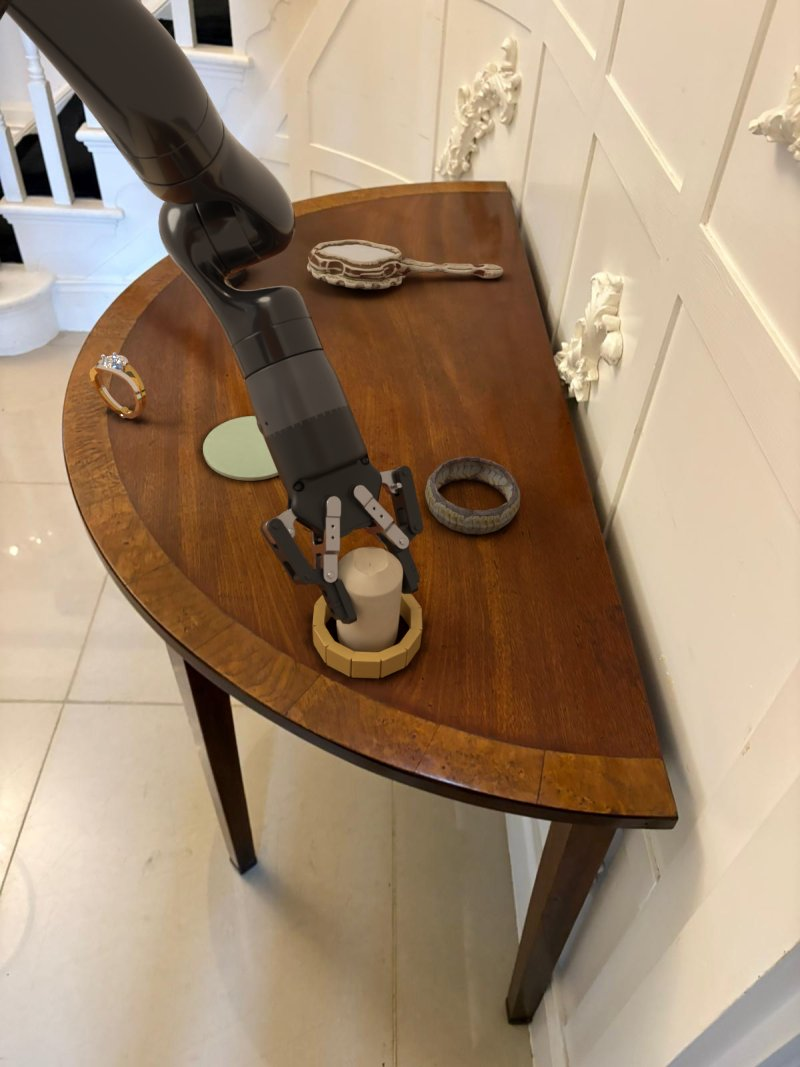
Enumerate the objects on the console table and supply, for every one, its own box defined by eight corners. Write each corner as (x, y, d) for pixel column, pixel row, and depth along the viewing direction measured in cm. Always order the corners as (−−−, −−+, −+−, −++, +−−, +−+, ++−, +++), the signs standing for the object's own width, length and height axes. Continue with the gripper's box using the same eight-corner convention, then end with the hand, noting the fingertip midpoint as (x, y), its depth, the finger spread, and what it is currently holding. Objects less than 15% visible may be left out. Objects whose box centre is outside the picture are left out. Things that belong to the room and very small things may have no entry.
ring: (156, 420, 91) (144, 361, 86) (135, 434, 89) (122, 374, 84) (114, 398, 94) (100, 340, 88) (93, 411, 92) (77, 352, 86)
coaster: (224, 492, 83) (224, 489, 83) (189, 434, 90) (188, 431, 90) (318, 463, 88) (318, 459, 87) (278, 409, 94) (278, 406, 94)
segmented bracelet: (344, 694, 67) (344, 677, 65) (296, 616, 72) (295, 598, 70) (439, 652, 70) (442, 635, 68) (387, 580, 76) (388, 562, 74)
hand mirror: (516, 280, 115) (313, 269, 108) (504, 311, 120) (309, 303, 113) (500, 233, 121) (306, 221, 114) (489, 265, 126) (302, 255, 119)
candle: (324, 633, 71) (322, 558, 64) (366, 600, 74) (369, 525, 67) (367, 669, 68) (370, 595, 61) (409, 634, 71) (417, 559, 64)
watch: (225, 265, 119) (223, 242, 116) (254, 270, 118) (252, 247, 116) (203, 288, 114) (199, 264, 111) (233, 294, 113) (230, 270, 110)
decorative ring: (534, 527, 82) (493, 467, 89) (539, 504, 80) (498, 445, 86) (445, 548, 79) (410, 485, 86) (448, 525, 77) (412, 462, 84)
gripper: (237, 438, 58) (323, 646, 60) (397, 382, 64) (470, 572, 66) (213, 454, 65) (291, 641, 66) (360, 402, 71) (428, 574, 73)
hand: (380, 606), depth 66 cm, fingers closed on candle, 5 cm apart
